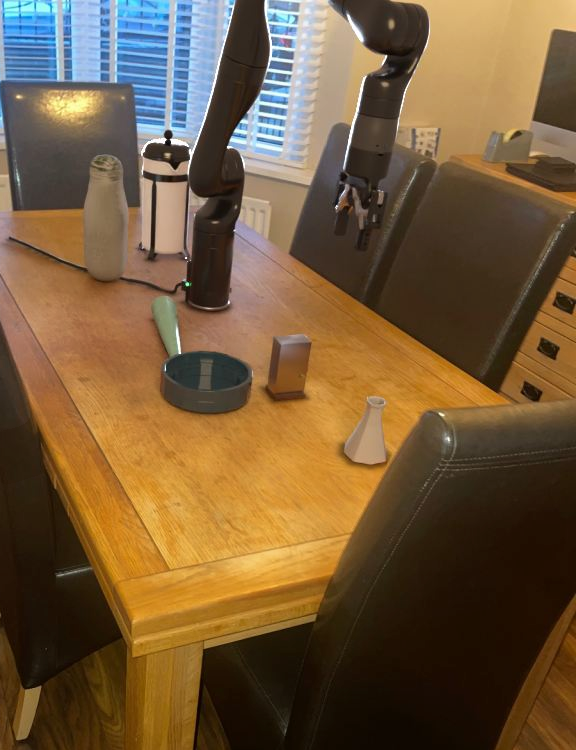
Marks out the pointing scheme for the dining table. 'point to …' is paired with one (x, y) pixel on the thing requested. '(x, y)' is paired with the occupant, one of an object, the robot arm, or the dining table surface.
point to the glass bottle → (105, 220)
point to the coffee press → (165, 196)
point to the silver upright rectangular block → (288, 366)
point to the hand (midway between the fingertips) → (349, 242)
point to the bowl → (206, 381)
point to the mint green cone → (167, 323)
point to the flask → (368, 435)
